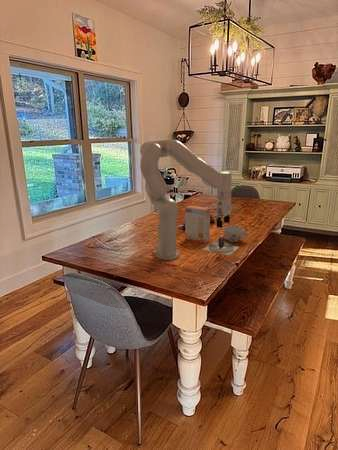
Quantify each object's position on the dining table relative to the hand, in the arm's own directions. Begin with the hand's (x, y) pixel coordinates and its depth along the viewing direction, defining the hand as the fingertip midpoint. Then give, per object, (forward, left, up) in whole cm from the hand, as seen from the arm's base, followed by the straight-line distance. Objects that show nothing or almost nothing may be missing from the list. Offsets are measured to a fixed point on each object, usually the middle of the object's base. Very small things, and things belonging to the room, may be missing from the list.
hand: (223, 224), depth 176 cm
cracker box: (-18, +5, -14) cm, 24 cm away
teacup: (+2, +16, -14) cm, 21 cm away
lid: (0, 0, -14) cm, 14 cm away
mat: (0, 0, -14) cm, 14 cm away
